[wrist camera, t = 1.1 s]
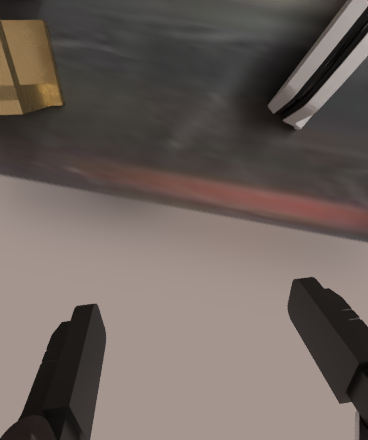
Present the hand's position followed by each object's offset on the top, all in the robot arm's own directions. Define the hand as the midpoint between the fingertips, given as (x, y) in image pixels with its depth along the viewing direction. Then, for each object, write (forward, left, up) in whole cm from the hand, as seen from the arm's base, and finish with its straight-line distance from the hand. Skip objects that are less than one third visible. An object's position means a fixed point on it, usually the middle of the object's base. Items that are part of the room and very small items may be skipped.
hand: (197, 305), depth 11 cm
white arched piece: (-11, +18, -24) cm, 32 cm away
